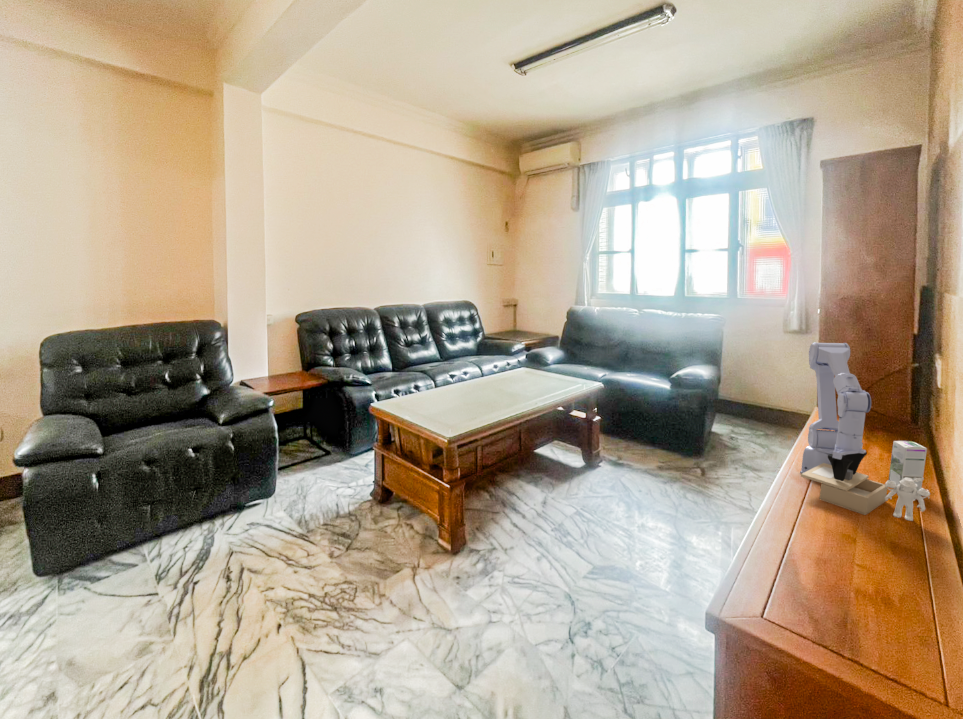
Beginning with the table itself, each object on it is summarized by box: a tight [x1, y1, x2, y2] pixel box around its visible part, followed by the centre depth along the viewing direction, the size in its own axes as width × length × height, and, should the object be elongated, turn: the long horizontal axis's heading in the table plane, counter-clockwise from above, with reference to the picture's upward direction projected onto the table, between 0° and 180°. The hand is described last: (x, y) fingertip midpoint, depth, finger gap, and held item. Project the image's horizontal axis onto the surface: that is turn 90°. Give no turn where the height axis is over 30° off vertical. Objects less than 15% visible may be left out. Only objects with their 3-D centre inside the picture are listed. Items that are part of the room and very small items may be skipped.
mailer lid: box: [800, 463, 870, 491], centre depth 137 cm, size 12×15×3 cm
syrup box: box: [888, 440, 928, 491], centre depth 138 cm, size 6×6×14 cm
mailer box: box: [819, 478, 889, 516], centre depth 133 cm, size 11×14×5 cm
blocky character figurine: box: [884, 476, 931, 522], centre depth 123 cm, size 9×4×12 cm, turn 40°
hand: (844, 476), depth 135 cm, fingers open, 7 cm apart
